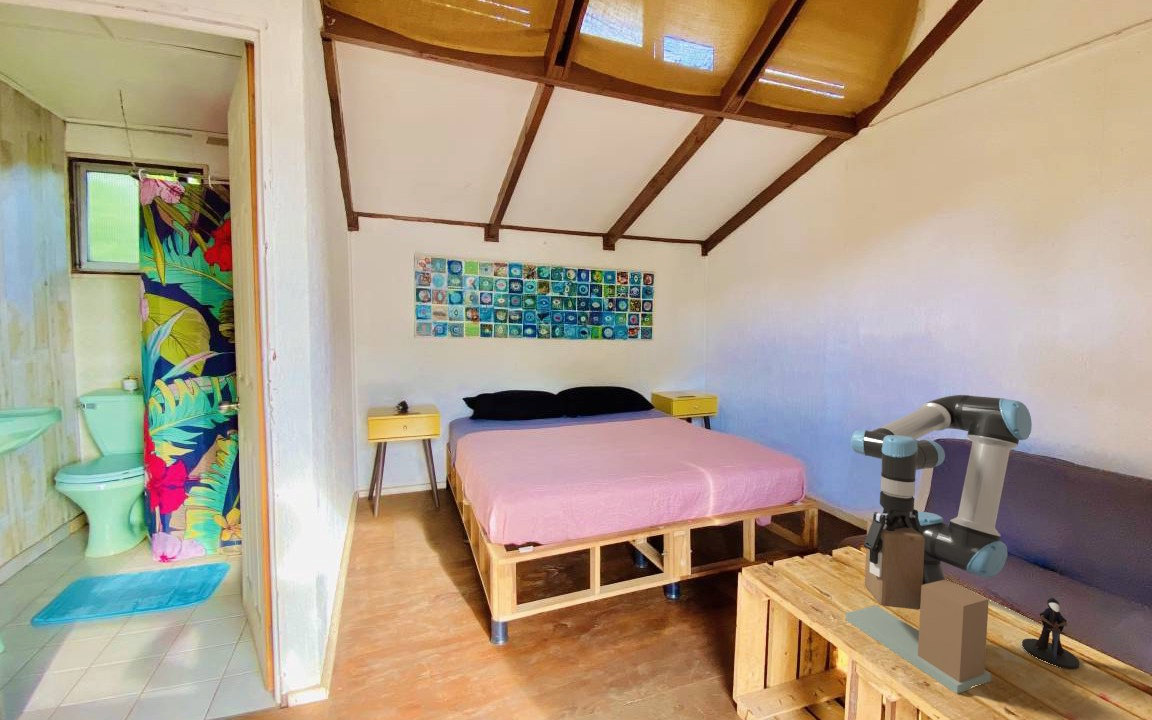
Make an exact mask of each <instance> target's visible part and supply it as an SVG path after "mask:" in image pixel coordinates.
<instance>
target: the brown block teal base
mask: <svg viewBox="0 0 1152 720" xmlns="http://www.w3.org/2000/svg"><path fill="white" fill-rule="evenodd" d="M989 601H990V599H989V598H987V597H985V596H983V595H981V594H979V593H977V592H975V591H973V590H970V589H967V588H965V586H961V585H959V584H957V583H955V582H953V581H950V580H948V579H946V578H945V580H941V581H937V582H932V583H928V584H924V585H921V604H920V609H919V610H920V611H919V624H918V625H919V627H918V629H916V628H915V627H913V626H912V625H910V624H908V623H907V622H905V621H903V620H902V619H900V618H898V617H896V616H895V615H893V614H892V613H889V612H888V611H886V610H884V609H883V608H881V607H880V606H877V605H872V606H869V607H864V608H861V609H856V610H853V611H848V612H845V620H846V621H847V622H848V623H850V624H852V625H853V626H855V627H856V628H857V629H859V631H862V632H863V633H865V634H867V635H868V636H870V637H871V638H872V639H874V640H875V641H877V642H879V643H880V644H881V645H883V646H884V647H886V648H887V649H889V650H890V651H891V652H893V653H894V654H896V655H898V656H899V657H901V658H902V659H904V660H905V661H906V662H908V663H910V664H912V665H913V666H914V667H915V668H917V669H918V670H920V671H922V672H923V673H925V674H926V675H928V676H929V677H930V678H932V679H934V680H935V681H937V682H938V683H940V684H941V685H943V686H944V687H946V688H947V689H949V690H951V691H952V692H953V693H955V694H956V695H958V694H961V693H963V692H965V691H968V689H969V690H971V689H970V688H971V687H972V686H975V685H979V684H983V685H985V684H987V682H988V683H990V682H991V680H992V679H991V678H992V677H991V676H992V673H991V672H989V671H988V670H986V668H985V667H986V653H987V638H988V637H987V636H988V635H987V634H988V633H987V632H988V617H989V603H990V602H989ZM984 683H985V684H984Z"/></svg>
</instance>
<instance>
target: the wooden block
mask: <svg viewBox="0 0 1152 720" xmlns="http://www.w3.org/2000/svg"><path fill="white" fill-rule="evenodd" d="M872 521H873V519H868V520H867V527H866V536H867V535H868V532H869V529H870V527H871V524H872ZM885 525H886V523H885ZM886 526H887V525H886ZM880 538H881V540H882V549H881V551H880V552H882V573H881V577H878V576H876V575H874V574H872V573H870V560H869V559H870V550H869V549H867V548H865V569H864V570H865V571H864V572H865V573H864V586H865V589H866V590H867V591H868V592H869V594H871V595H872V596H873V598H874V599H875V600H876V601H877V602H878V603H879V605H881V606H884V607H891V608H900V609H906V610H907V609H910V610H917V611H918V610H920V604H921V585H923V565H924V546H925V539H924V536H923V535H921V534H920V533H919V532H917V531H916V530H915V529H913V528H912V527H911V528H907V527H905V526H904V527H903V528H898V529H895V531H888V530H885V529H883V531H882V533H881V536H880Z"/></svg>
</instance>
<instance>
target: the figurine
mask: <svg viewBox="0 0 1152 720" xmlns="http://www.w3.org/2000/svg"><path fill="white" fill-rule="evenodd" d="M1046 602H1047V608H1045V610H1044V611H1041V612H1040V613H1039V619H1040V620H1041V623H1042V629H1041V633H1040V635H1039V638H1024V639H1023V640H1022V641H1021V642H1022V643H1021V646H1023V647H1024V649H1025V650H1026V651H1027V652H1028V653H1027V654H1029V653H1030V654H1031V655H1030V654H1029V655H1030V656H1032V655H1033V656H1034V657H1033V656H1032V657H1033V658H1035V657H1037V658H1038V659H1041V660H1043V661H1046V662H1048V663H1050V664H1053V665H1056V666H1058V667H1057V668H1059V667H1061V668H1060V669H1063V670H1078V669H1079V668H1080V663H1081V662H1080V660H1079V658H1078V657H1077V656H1075V654H1073V653H1072V652H1070V651H1068V650H1067V649H1065V648H1063V646H1062V643H1061V635H1067V633H1066V632H1063V630H1064V628H1065V627H1067V626H1068V623H1067V619H1065V617H1064V616H1063V615H1062V614H1061V611H1060V602H1059V601H1058V600H1057V599H1055V598H1054V597H1050V598H1049V599H1047V601H1046ZM1050 635H1051V637H1052V638H1051V642H1049V641H1050ZM1023 647H1022V648H1023ZM1024 649H1023V650H1024ZM1025 650H1024V651H1025ZM1026 651H1025V652H1026ZM1037 658H1036V659H1037ZM1038 659H1037V660H1038ZM1043 661H1042V662H1043ZM1050 664H1049V665H1050ZM1053 665H1052V666H1053Z"/></svg>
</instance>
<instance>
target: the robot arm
mask: <svg viewBox="0 0 1152 720" xmlns="http://www.w3.org/2000/svg"><path fill="white" fill-rule="evenodd" d="M1031 417H1032V415H1031V414H1030V411H1029V408H1028V407H1027V405H1026V404H1024V403H1023V402H1022V401H1019V400H1014V399H1008V398H1000V397H990V396H989V397H988V396H977V395H968V394H955V395H949V396H944V397H939V398H937V399H933V400H930V401H928V402H926V403H923V404H921V405H920V406H919V408H918V410H916V411H913V412H911V413H909V414H907V415H904V416H902V417H900V418H898V419H896V420H893V421H892V422H889V423H887V424H885V425H883V426H880V427H878V428H875V429H874V430H868V429H857V430H856V431H854V432H853V433H852V435H851V437H850V447H851V449H852V450H853V451H854V452H855V453H857V454H859V455H863V456H865V457H872V458H876V459H880V460H881V472H880V473H881V474H880V490H881V491H880V493H879V504H880V506H881V507H882V509H883V510H882V513H880V512H877V511H874V512H873V517H872V520H873V521H872V524H871V527H870V529H869V532H868V535H867V534H866V538H865V541H864V542H863V548H865V549H866V548H867V549H869V550H870V559H869V560H870V573H872V574H874V575H876V576H878V577H881V573H882V552H880V551H881V549H882V540H881V538H880V536H881V533H882V531H883V529H885V530H888V531H895V529H898V528H903V527H904V526H905V527H907V528H911V527H912V528H913V529H915V530H916V531H917V532H919V533H920V534H921V535H923V536H924V539H925V546H924V565H923V585H924V584H928V583H932V582H937V581H941V580H945V579H946V577H945V574H944V571H943V567H942V563H945V564H948V565H951V566H952V567H954V568H958V569H959V570H963V571H965V572H966V573H968V574H973V575H975V576H978V577H982V578H983V579H990V578H993V577H995V576H996V575H998V574H999V573H1000V571H1002V569H1003V567H1004V566H1005V564H1006V561H1007V558H1008V547H1007V545H1006V544H1005V543H1004V542H1002V541H1001V537H1002V536H1001V533H999V531H998V530H997V529H996V523H997V520H998V519H997V517H998V513H999V508H1000V504H1001V503H1000V502H1001V498H1002V492H1003V488H1004V481H1005V477H1006V473H1007V472H1006V471H1007V467H1008V462H1009V457H1010V452H1011V450H1012V449H1014V448H1017V447H1018V446H1019V444H1020V443H1019V441H1025V440H1027V439H1028V438H1029V437H1030V435H1031V433H1032V426H1033V424H1032V418H1031ZM946 429H949V430H950V429H953V430H959V431H960V430H961V431H963V432H964V431H966V432H967V438H968V439H969V440H970V442H972V443H971V447H970V453H969V457H968V464H967V467H966V472H965V473H966V474H965V478H964V483H963V488H962V493H961V499H960V502H959V508H958V511H957V512H958V514H957V516H956V517H954V518H952V519H950V520H949V524H946V523H944V521H945V520H944V517H942V516H940V515H939V514H936V513H933V512H927V511H919V510H918V509H915V497H914V496H915V495H916V474H917V471H918V470H925V469H933V468H935V467H938V466H940V465H941V464H943V463H944V461H945V458H946V453H945V450H944V448H943V447H942V446H941V444H939V443H938V442H936V441H933V440H930V439H928V440H927V439H920V440H917V439H919V438H922V437H924V436H926V435H927V434H930V433H931V432H934V431H936V432H937V431H938V432H939V431H944V430H946ZM885 523H886V525H887V526H886V525H885ZM941 562H942V563H941Z"/></svg>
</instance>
